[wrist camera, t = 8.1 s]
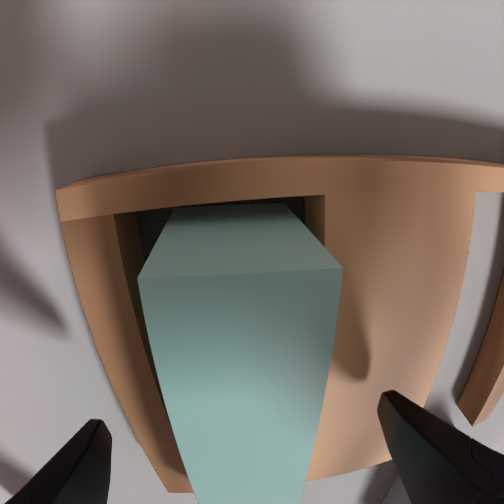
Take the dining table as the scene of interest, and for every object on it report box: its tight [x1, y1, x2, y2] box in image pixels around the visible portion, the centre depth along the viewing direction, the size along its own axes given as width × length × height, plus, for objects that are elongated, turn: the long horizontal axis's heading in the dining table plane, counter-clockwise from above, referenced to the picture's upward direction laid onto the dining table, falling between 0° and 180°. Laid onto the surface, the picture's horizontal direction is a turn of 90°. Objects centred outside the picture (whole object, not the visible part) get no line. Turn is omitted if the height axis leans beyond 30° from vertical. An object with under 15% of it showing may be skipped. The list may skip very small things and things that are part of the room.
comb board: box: [55, 154, 504, 493], centre depth 11 cm, size 18×14×2 cm
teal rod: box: [137, 203, 343, 504], centre depth 9 cm, size 3×12×5 cm, turn 1°
